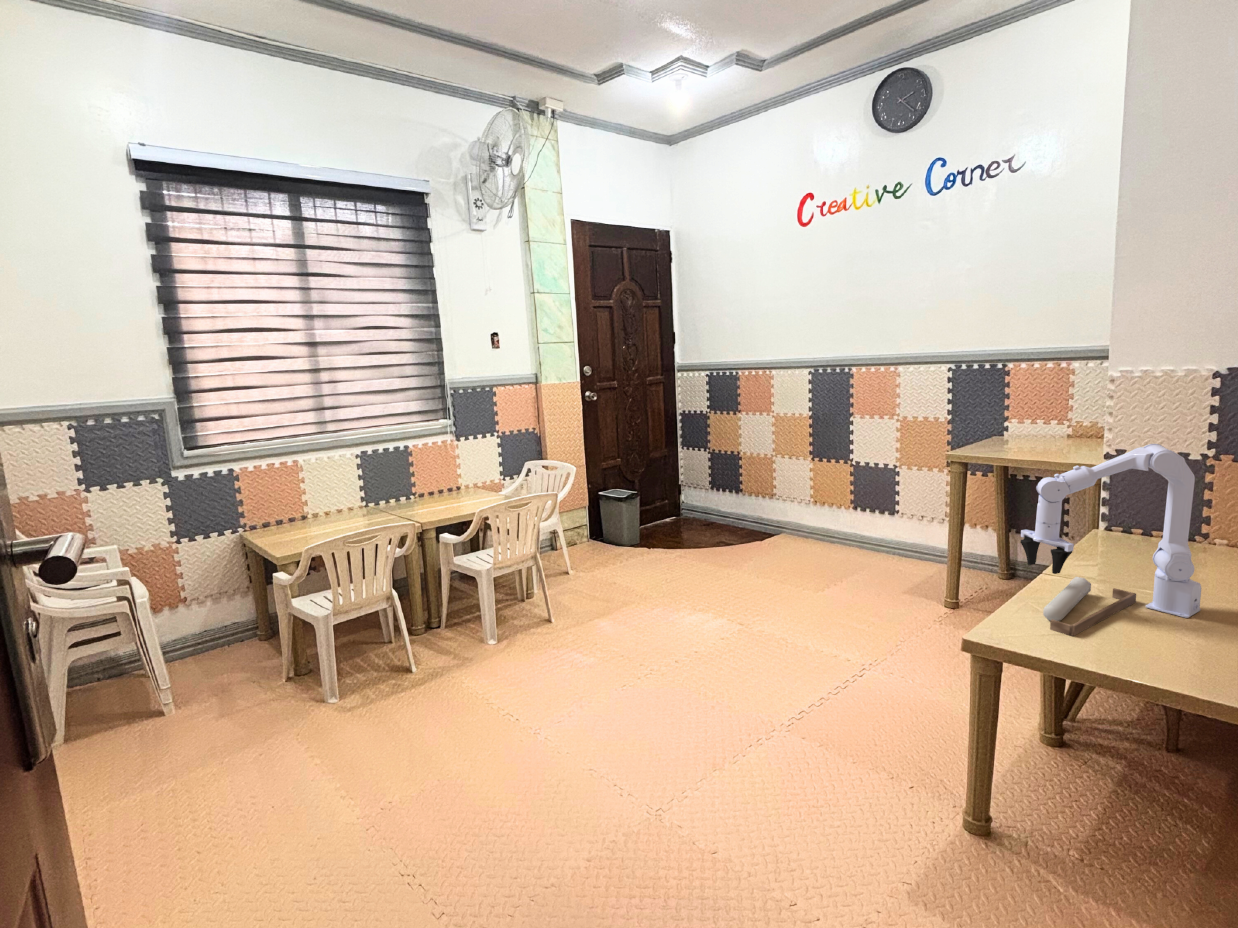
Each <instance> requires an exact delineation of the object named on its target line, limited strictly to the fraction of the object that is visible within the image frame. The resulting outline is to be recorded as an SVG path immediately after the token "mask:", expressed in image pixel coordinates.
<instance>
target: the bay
mask: <svg viewBox="0 0 1238 928" xmlns="http://www.w3.org/2000/svg"><path fill="white" fill-rule="evenodd" d="M1111 597H1112V598H1115V599H1118V600H1117V601H1114V602H1113V603H1110V604H1109V605H1107V606H1105V607H1103V608H1101V609H1099V610H1098V611H1096V612H1094V613H1092V614H1090V615H1087V616H1085V617H1084V618H1082V619H1080V620H1079V621H1077V622H1075V623H1072V624H1070V623H1065V622H1062V621H1056V620H1053V619H1052V620H1051V621H1050V624H1049V625H1050V626H1049V627H1050V628H1049V629H1050V630H1051V631H1055V632H1057V633H1060V634H1063V633H1064V634H1065V635H1067V636H1070V637H1074V636H1076V635H1078V634H1080V633H1081V632H1083V631H1085V630H1087V629H1089V628H1091V627H1093V626H1095V625H1096V624H1098V623H1100V622H1102V621H1104V620H1106V619H1107V618H1110V617H1111V616H1113V615H1114V614H1117V613H1119V612H1120V611H1122V610H1124V609H1126V608H1127V607H1130V606H1131V605H1133V604H1135V603H1136V602H1137V593H1135V592H1132V591H1127V590H1123V589H1119V588H1116V587H1114V588H1112V595H1111ZM1077 633H1078V634H1077Z"/></svg>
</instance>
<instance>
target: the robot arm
mask: <svg viewBox="0 0 1238 928" xmlns="http://www.w3.org/2000/svg"><path fill="white" fill-rule="evenodd" d="M1072 468H1073V469H1071V470H1069V471H1066V472H1062V473H1060V474H1059V473H1055V474H1054V475H1053V477H1052V476H1051V477H1050V476H1048V477H1043V478H1042V479H1040V481H1039V482H1038V483H1037V485H1036V487H1035V489H1036V491H1037V493H1038V499H1037V500H1038V503H1037V507H1036V519H1035V527H1034V528H1035V529H1034V530H1030V529H1021V530H1020V537H1021V538H1022V539H1020V541H1019V542H1020V544H1021V546H1022V548H1023V550H1024V553H1025V556H1026V561H1027V565H1029V566H1032V565H1036V563H1037V559H1038V558H1037V556H1038V551H1039V547H1040V545H1041V544H1046V545H1047V546H1051V547H1054V548H1052V549H1051V548H1050V554H1051V558H1052V560H1051V561H1052V567H1051V572H1052V574H1053V575H1058V574H1060V573H1061V571H1062V569H1063V567H1064V564H1065V562H1066V561H1067V560H1068V558H1069V557H1070V556H1071V554H1073V552H1074V549H1075V548H1074V546H1075V544H1074V543H1071V542H1069V541H1067V540H1065V539H1064V538H1062V537H1060V532H1061V531H1060V530H1061V521H1062V508H1063V505H1062V504H1063V500H1064V499H1065V498H1066V496H1067V495H1071V494H1074V493H1076V492H1080V491H1082V490H1086V489H1087V488H1088V489H1089V488H1090V487H1094V486H1095V484H1096V483H1097V481H1098V480H1099V479H1101V478H1105V477H1109V476H1112V475H1114V474H1118V473H1122V472H1124V471H1128V470H1132V469H1133V470H1139V471H1146V472H1149V469H1152V470H1153V472H1155V473H1157V474H1159V475H1161V476H1162V477H1163V478H1165V480H1167V482H1168V484H1167V490H1166V491H1167V493H1166V501H1165V502H1166V504H1165V512H1164V521H1163V531H1162V532H1163V533H1162V539H1161V540H1160V541H1158V545H1157V549H1156V550H1155V551H1154V553H1153V555H1152V563H1153V564H1154V565H1155V566H1156V570H1155V572H1154V580H1153V581H1154V582H1153V593H1152V601H1151V602H1149V603H1148V604H1145V608H1147V609H1151V610H1155V611H1159V612H1162V613H1166V614H1169V615H1174V616H1178V617H1182V618H1185V619H1187V618H1188V619H1189V618H1190V617H1191V616H1194V615H1195V614H1197V613H1199V612H1200V611H1201V608H1200V607H1201V597H1202V585H1201V583H1200V582H1198V581H1195V580H1193V579H1191V577H1193V575H1194V574H1195V565H1194V563H1193V562H1192V551H1191V549H1190V546H1189V535H1190V525H1191V516H1192V509H1193V508H1192V507H1193V501H1194V500H1193V499H1194V489H1195V481H1196V477H1195V475H1194V473H1193V472H1192V469H1191V468H1190V467H1189V465H1188V464H1187V462H1186V458H1184V457H1183V456H1182V455H1180V454H1178V453H1177V452H1175V451H1173V450H1172V449H1169V448H1166V447H1164V446H1163V445H1162V444H1159V443H1149V444H1146V445H1145V446H1140V447H1136V448H1133V449H1132V450H1130V451H1128V452H1126V453H1124V454H1120V455H1118V456H1116V457H1114V458H1111V459H1109V460H1106V461H1104V462H1101V463H1100V464H1097V465H1095V466H1092V467H1089V466H1086V465H1081V466H1079V465H1075V466H1073V467H1072Z"/></svg>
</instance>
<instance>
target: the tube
mask: <svg viewBox="0 0 1238 928" xmlns="http://www.w3.org/2000/svg"><path fill="white" fill-rule="evenodd" d="M1091 590H1092V583H1091V582H1090V581H1088V580H1087V579H1086V578H1085V577H1081V576H1075V577H1073V578H1072V579H1071V580H1070V581H1069V583H1068V584H1067V585H1066V586H1065V587H1064V588H1063V589H1062V590H1061V591H1059V593H1058V594H1057V595H1056V596H1055V597H1053V599H1052V600H1051V601H1049V603H1047V604H1046V605H1045V606H1044V607H1043V614H1042V615H1043V617H1045V618H1046V619H1047V620H1048V621H1051V620H1052V619H1053V620H1056V621H1059V622H1061V620H1063V619H1064V618H1065V617H1066V616H1067V614H1069V613H1070V612H1071V611H1072V609H1073V608H1074V607H1076V605H1077V604H1078V603H1080V601H1081V600H1082V599H1083V598H1084V597H1085V596H1086V595H1088V594H1089V593H1090V592H1091Z"/></svg>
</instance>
